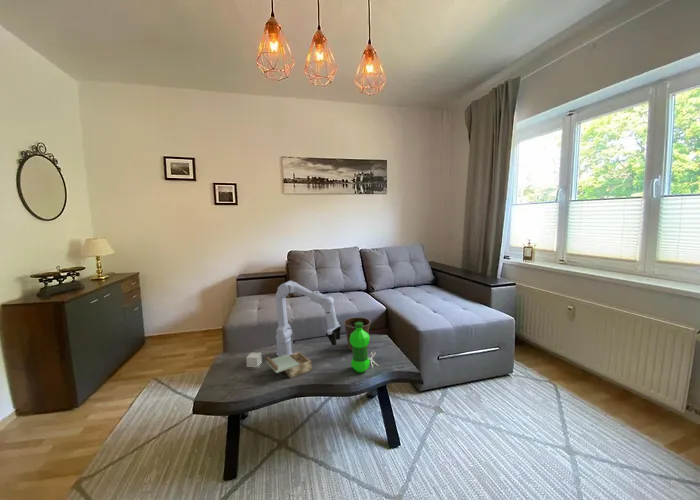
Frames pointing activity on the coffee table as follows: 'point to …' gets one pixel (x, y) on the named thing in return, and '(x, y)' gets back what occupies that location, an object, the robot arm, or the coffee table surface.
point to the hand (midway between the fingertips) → (336, 342)
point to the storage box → (302, 367)
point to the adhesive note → (254, 359)
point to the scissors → (372, 359)
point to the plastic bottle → (359, 348)
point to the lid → (282, 363)
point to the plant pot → (351, 327)
